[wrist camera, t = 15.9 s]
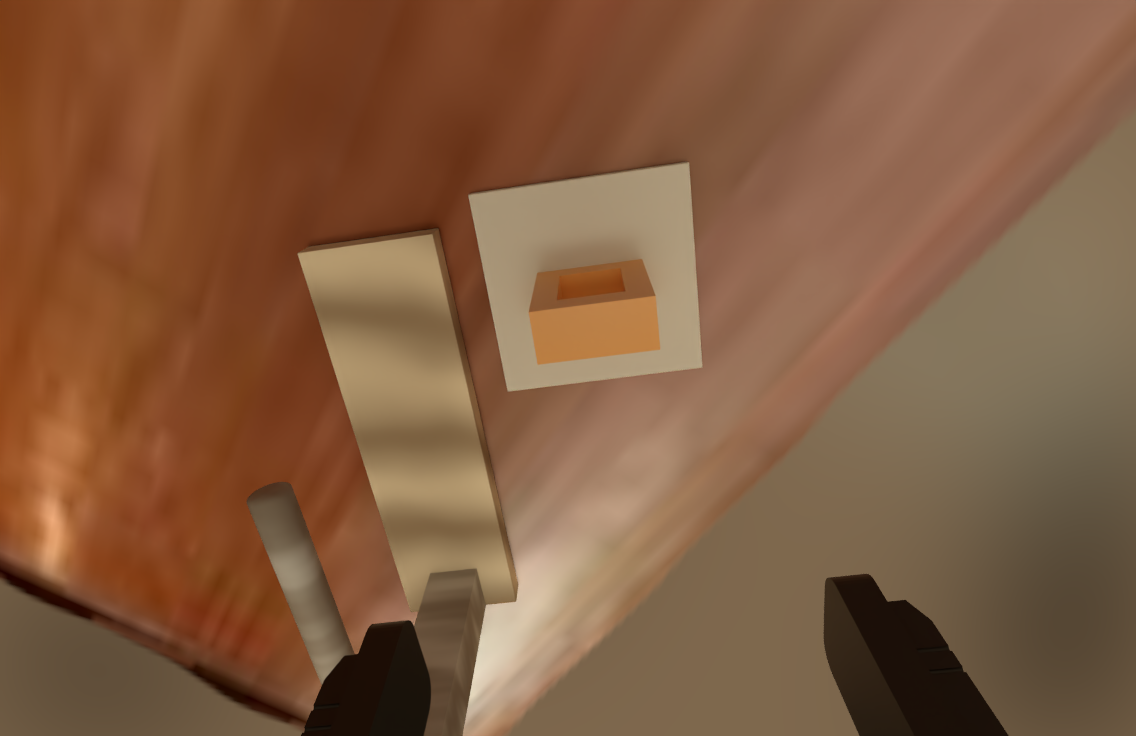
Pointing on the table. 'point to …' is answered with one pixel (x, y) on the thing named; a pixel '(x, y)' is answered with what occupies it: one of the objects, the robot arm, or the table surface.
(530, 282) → the mat
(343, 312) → the hook stand
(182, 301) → the table surface
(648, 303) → the loop
